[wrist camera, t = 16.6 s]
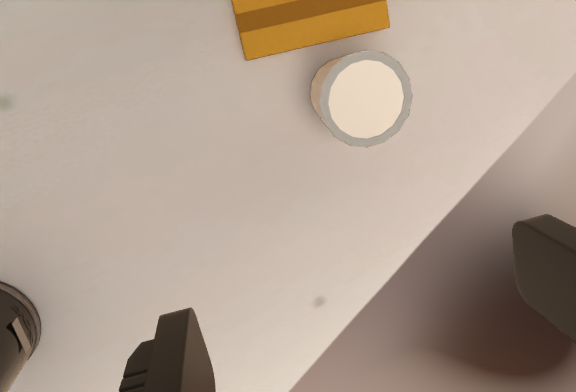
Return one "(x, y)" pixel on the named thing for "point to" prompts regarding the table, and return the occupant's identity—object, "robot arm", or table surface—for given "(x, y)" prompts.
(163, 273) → the table surface
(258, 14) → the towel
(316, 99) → the beige cup
